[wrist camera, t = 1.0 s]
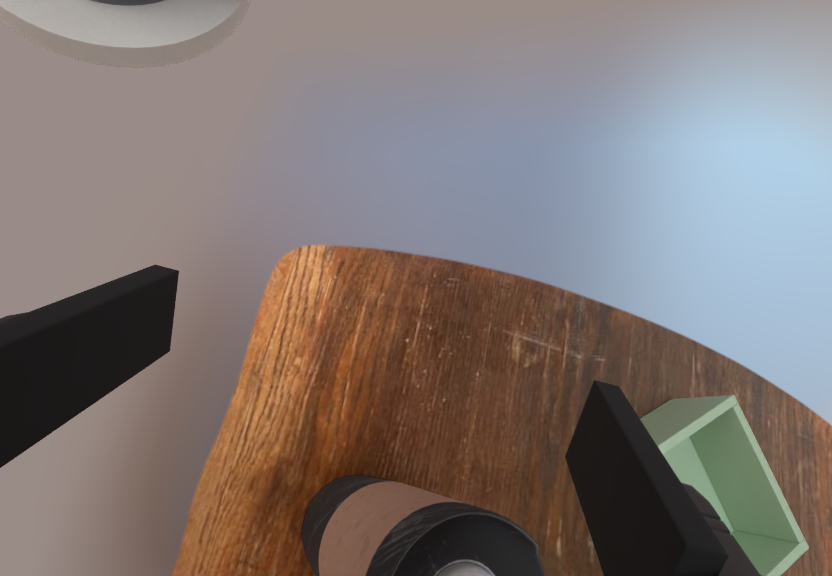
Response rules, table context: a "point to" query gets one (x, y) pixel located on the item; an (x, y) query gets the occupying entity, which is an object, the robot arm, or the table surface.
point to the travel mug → (410, 534)
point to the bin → (729, 476)
